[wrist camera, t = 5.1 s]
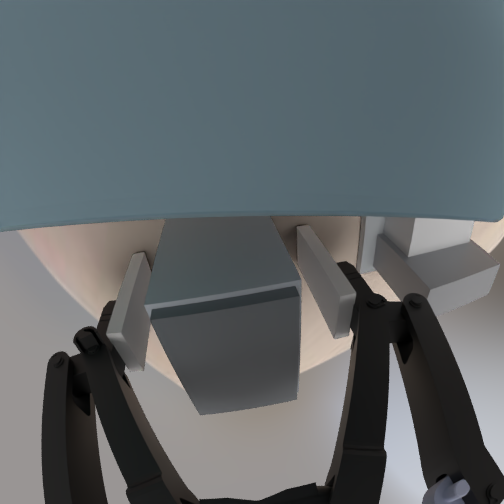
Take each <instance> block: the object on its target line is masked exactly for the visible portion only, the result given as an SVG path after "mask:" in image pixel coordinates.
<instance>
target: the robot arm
mask: <svg viewBox="0 0 504 504" xmlns="http://www.w3.org/2000/svg"><path fill="white" fill-rule="evenodd" d="M297 260H298V266H299V268H300V270H301V272H302V274H303V276H304V278H305V280H306V282H307V284H308V286H309V288H310V290H311V292H312V294H313V296H314V298H315V300H316V302H317V304H318V307H319V309H320V311H321V313H322V315H323V317H324V319H325V321H326V323H327V325H328V327H329V329H330V331H331V334H332V336H333V338H334V339H338V338H342V337H346V336H349V332H350V328H351V330H352V331H353V333H354V335H353V340H352V344H351V358H350V366H349V373H348V381H347V387H346V394H345V400H344V406H343V411H342V417H341V422H340V427H339V432H338V437H337V442H336V446H335V451H334V455H333V459H332V463H331V467H330V470H329V472H328V476H327V479H326V482H325V486H316V483H311V484H308V485H303V486H300V487H295V488H291V489H286V490H284V491H282V492H280V493H277V494H275V495H272V496H270V497H268V498H265V499H262V500H259V501H252V500H242V499H233V498H219V499H200V501H199V500H198V499H197V498H196V496H195V495H194V494H193V493H192V492H191V491H190V490H189V489H188V488H187V486H186V485H185V484H184V482H183V481H182V479H181V478H180V476H179V474H178V473H177V471H176V470H175V468H174V466H173V465H172V463H171V462H170V460H169V458H168V456H167V455H166V453H165V452H164V450H163V448H162V446H161V444H160V443H159V441H158V439H157V437H156V435H155V433H154V432H153V430H152V428H151V426H150V424H149V422H148V420H147V418H146V417H145V414H144V412H143V410H142V408H141V406H140V404H139V402H138V399H137V397H136V395H135V393H134V391H133V388H132V386H131V384H130V381H129V379H128V377H127V375H126V374H125V372H124V370H125V365H126V366H127V368H128V369H129V371H130V372H131V371H144V366H145V359H146V351H147V344H148V337H149V331H150V324H151V321H150V318H149V315H148V313H147V311H146V309H145V306H144V303H145V298H146V294H147V290H148V285H149V281H150V277H151V270H150V267H149V264H148V261H147V258H146V255H145V252H142V253H136V254H133V255H132V258H131V261H130V263H129V266H128V269H127V271H126V274H125V277H124V280H123V283H122V285H121V288H120V291H119V294H118V297H117V300H115V301H109V302H108V303H107V304H106V306H105V307H104V308H103V311H102V314H101V317H100V320H99V323H98V326H97V329H96V328H94V327H92V326H90V327H89V326H88V327H84V328H82V329H81V330H79V331H78V332H77V333H76V334H75V336H74V340H73V343H74V344H75V345H76V347H77V348H78V350H79V351H80V352H81V353H80V354H77V355H75V356H72V357H69V356H68V355H67V353H65V352H63V351H62V352H57V353H55V354H54V355H53V356H52V357H51V358H50V359H49V362H48V366H47V373H46V381H45V390H44V400H43V414H42V475H43V488H44V498H45V504H108V502H107V498H106V493H105V487H104V482H103V476H102V470H101V463H100V456H99V448H98V440H97V429H96V415H95V406H96V409H97V412H98V415H99V418H100V420H101V424H102V426H103V429H104V432H105V434H106V437H107V440H108V442H109V445H110V448H111V450H112V452H113V455H114V457H115V459H116V461H117V464H118V466H119V468H120V471H121V473H122V475H123V477H124V479H125V481H126V484H127V487H128V488H127V490H126V495H127V498H128V500H129V502H130V504H379V500H380V495H381V490H382V485H383V478H384V473H385V467H386V458H387V455H386V451H385V450H384V440H385V431H386V420H387V409H388V408H387V407H388V392H389V391H388V390H389V343H392V344H393V347H394V351H395V354H396V357H397V361H398V364H399V368H400V371H401V375H402V378H403V382H404V386H405V390H406V394H407V398H408V402H409V406H410V410H411V414H412V419H413V423H414V428H415V433H416V438H417V443H418V449H419V455H420V460H421V467H422V471H423V476H424V479H425V482H426V485H427V488H428V490H427V492H426V493H425V495H424V497H423V502H422V504H500V503H501V502H502V501H503V499H504V476H503V474H502V472H501V471H500V469H499V467H498V466H497V464H496V463H495V461H494V460H493V458H492V457H491V455H490V454H489V452H488V451H487V449H486V448H485V446H484V442H483V439H482V435H481V431H480V428H479V425H478V421H477V418H476V414H475V411H474V408H473V405H472V402H471V399H470V396H469V394H468V391H467V388H466V385H465V382H464V380H463V377H462V375H461V372H460V369H459V367H458V365H457V362H456V360H455V357H454V355H453V353H452V350H451V348H450V346H449V343H448V341H447V339H446V337H445V335H444V332H443V330H442V328H441V326H440V324H439V322H438V320H437V318H436V316H435V314H434V312H433V310H432V308H431V306H430V304H429V302H428V300H427V299H426V298H425V297H424V296H422V295H421V294H418V293H409V294H407V295H406V296H404V299H403V302H390V301H387V300H386V299H385V298H384V297H383V296H381V295H379V294H375V293H373V291H372V290H371V289H370V287H369V286H368V285H367V283H366V282H365V280H364V279H363V278H362V277H361V275H360V274H359V273H358V271H357V270H356V268H355V267H354V266H353V265H351V264H350V263H348V262H347V261H344V262H339V263H336V262H335V261H334V259H333V258H332V256H331V255H330V254H329V252H328V251H327V249H326V248H325V246H324V245H323V244H322V242H321V241H320V240H319V238H318V237H317V235H316V234H315V233H314V231H313V230H312V229H311V227H310V226H309V225H304V226H297Z"/></svg>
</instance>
